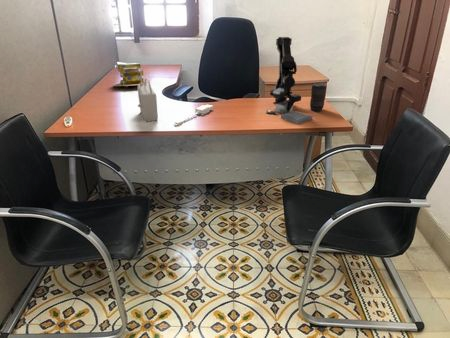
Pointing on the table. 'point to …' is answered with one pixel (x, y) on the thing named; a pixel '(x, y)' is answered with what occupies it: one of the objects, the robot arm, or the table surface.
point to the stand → (296, 117)
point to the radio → (147, 101)
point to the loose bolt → (271, 112)
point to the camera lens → (317, 96)
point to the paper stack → (129, 74)
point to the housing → (283, 108)
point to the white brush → (197, 112)
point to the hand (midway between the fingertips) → (284, 110)
